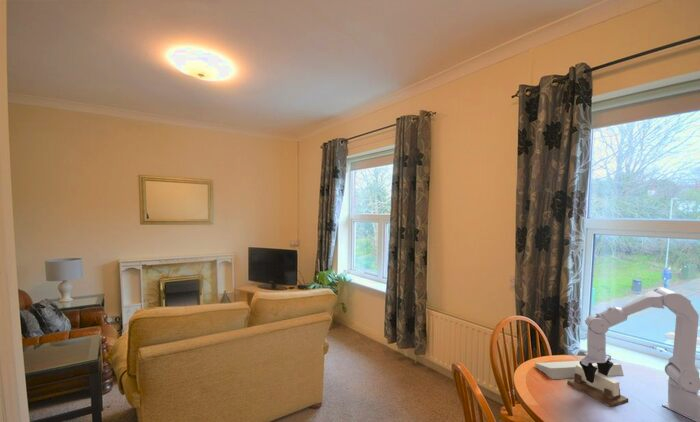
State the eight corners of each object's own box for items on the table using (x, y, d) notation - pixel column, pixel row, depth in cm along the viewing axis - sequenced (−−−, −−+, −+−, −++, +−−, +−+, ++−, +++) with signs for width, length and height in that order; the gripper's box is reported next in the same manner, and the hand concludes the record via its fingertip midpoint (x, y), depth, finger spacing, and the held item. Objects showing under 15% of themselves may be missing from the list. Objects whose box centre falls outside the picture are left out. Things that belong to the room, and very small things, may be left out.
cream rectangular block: (619, 394, 112) (619, 381, 112) (614, 396, 111) (614, 383, 111) (580, 375, 125) (580, 363, 125) (575, 376, 124) (575, 365, 124)
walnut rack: (628, 401, 112) (628, 389, 112) (611, 407, 109) (611, 395, 109) (583, 378, 128) (583, 368, 128) (567, 383, 124) (567, 372, 124)
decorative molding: (536, 374, 136) (553, 380, 127) (534, 363, 138) (550, 368, 128) (603, 370, 140) (623, 376, 130) (600, 359, 141) (620, 364, 131)
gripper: (597, 339, 124) (597, 371, 124) (573, 344, 120) (573, 377, 120) (617, 347, 118) (616, 380, 118) (592, 352, 113) (592, 387, 113)
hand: (596, 379), depth 118 cm, fingers open, 7 cm apart
